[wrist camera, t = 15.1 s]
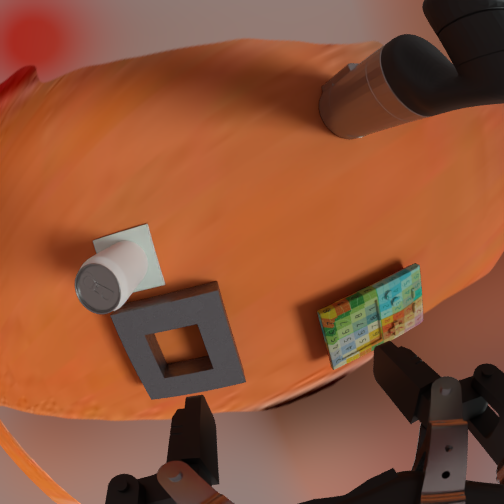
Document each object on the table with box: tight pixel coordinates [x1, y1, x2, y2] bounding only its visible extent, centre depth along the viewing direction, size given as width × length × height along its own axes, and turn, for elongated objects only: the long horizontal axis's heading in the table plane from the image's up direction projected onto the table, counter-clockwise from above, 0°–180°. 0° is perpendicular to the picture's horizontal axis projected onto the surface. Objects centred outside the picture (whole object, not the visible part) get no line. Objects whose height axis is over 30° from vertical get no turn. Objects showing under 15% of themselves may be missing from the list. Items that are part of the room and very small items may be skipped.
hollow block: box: [110, 281, 246, 400], centre depth 39 cm, size 16×16×4 cm
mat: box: [93, 224, 165, 292], centre depth 37 cm, size 9×9×1 cm
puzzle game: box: [317, 263, 423, 370], centre depth 43 cm, size 12×5×20 cm
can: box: [75, 241, 148, 314], centre depth 31 cm, size 6×6×12 cm
